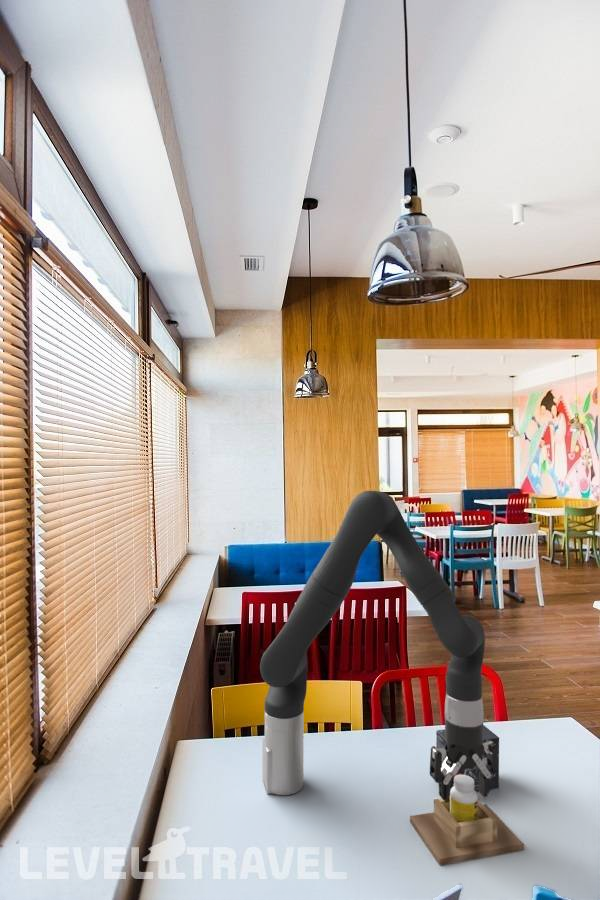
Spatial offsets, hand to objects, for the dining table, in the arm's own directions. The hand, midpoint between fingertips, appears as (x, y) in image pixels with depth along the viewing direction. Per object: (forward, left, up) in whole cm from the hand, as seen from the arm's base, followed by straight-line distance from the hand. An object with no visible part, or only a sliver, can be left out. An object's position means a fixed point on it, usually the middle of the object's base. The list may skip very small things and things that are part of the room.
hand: (464, 797), depth 112 cm
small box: (+10, +16, -8) cm, 20 cm away
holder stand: (0, 0, -8) cm, 8 cm away
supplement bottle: (0, 0, -6) cm, 7 cm away
